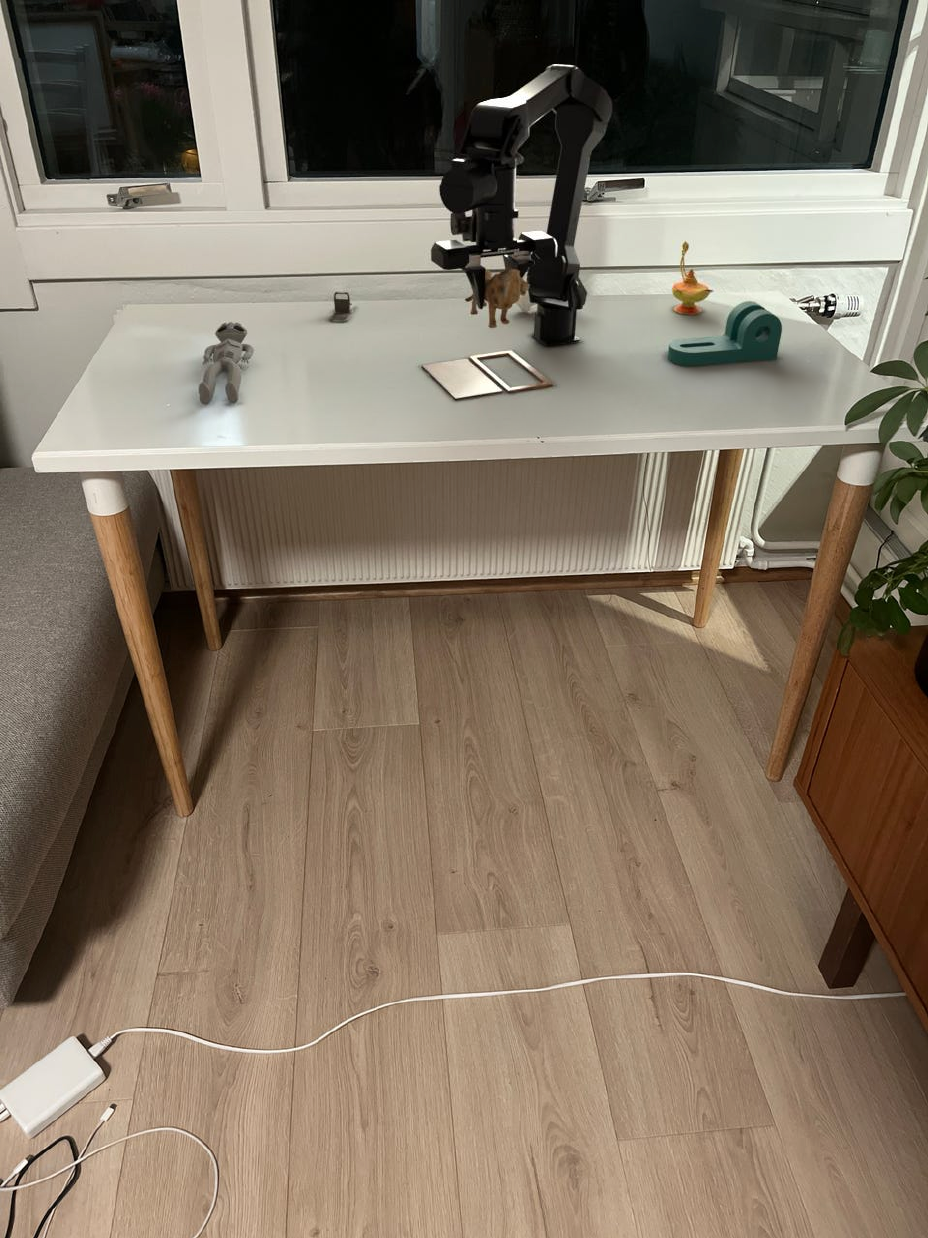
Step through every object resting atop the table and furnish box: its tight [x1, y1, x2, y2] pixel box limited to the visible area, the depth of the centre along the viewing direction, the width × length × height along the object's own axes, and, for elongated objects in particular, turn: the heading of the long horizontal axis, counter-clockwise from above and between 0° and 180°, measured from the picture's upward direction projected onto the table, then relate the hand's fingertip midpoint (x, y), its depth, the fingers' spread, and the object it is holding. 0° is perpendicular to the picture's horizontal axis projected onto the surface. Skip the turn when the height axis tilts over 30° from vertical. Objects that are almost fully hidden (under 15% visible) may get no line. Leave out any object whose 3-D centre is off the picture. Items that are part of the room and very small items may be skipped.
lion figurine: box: [464, 268, 530, 329], centre depth 149 cm, size 15×5×9 cm, turn 33°
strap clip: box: [331, 291, 355, 322], centre depth 180 cm, size 8×3×4 cm, turn 174°
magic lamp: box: [671, 240, 714, 316], centre depth 179 cm, size 7×18×11 cm, turn 7°
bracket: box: [667, 300, 783, 367], centre depth 162 cm, size 18×7×8 cm, turn 102°
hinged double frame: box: [421, 350, 554, 401], centre depth 157 cm, size 16×16×1 cm
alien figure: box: [198, 321, 255, 405], centre depth 156 cm, size 8×5×25 cm
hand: (493, 306), depth 151 cm, fingers closed on lion figurine, 4 cm apart
